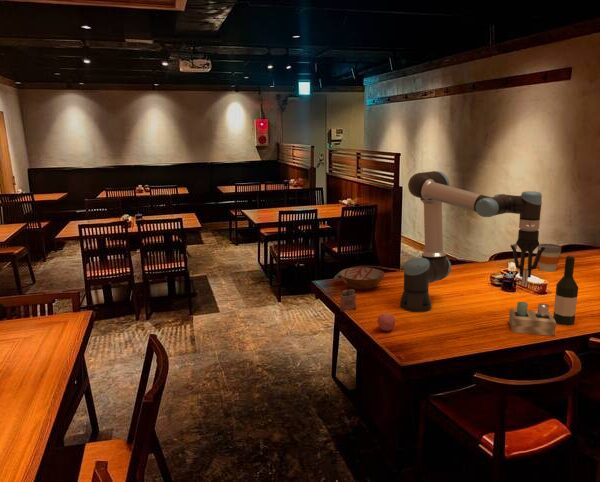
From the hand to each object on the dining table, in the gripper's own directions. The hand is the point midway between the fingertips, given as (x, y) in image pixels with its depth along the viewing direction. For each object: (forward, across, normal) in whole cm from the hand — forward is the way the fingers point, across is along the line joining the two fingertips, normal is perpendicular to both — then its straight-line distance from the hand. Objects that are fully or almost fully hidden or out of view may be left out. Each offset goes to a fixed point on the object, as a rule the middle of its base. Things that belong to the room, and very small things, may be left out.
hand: (524, 284), depth 195 cm
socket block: (+19, +4, 0) cm, 20 cm away
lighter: (+20, -76, +3) cm, 79 cm away
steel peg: (+14, +8, 0) cm, 16 cm away
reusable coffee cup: (+20, +28, +100) cm, 106 cm away
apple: (+20, -55, -17) cm, 61 cm away
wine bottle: (+20, +19, +12) cm, 29 cm away
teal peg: (+14, 0, 0) cm, 14 cm away
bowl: (+20, -76, +40) cm, 88 cm away
